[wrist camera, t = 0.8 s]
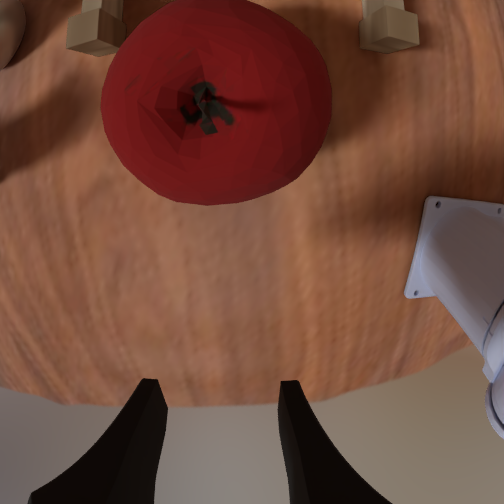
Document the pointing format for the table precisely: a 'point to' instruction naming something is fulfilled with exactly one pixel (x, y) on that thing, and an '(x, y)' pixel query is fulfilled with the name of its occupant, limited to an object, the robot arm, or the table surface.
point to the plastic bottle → (10, 29)
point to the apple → (216, 101)
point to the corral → (114, 30)
